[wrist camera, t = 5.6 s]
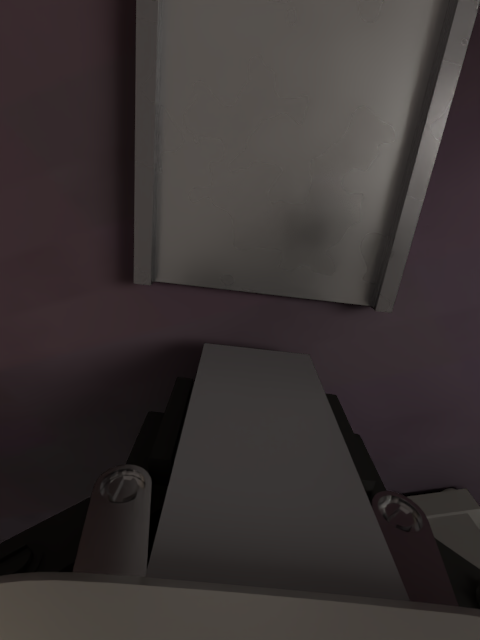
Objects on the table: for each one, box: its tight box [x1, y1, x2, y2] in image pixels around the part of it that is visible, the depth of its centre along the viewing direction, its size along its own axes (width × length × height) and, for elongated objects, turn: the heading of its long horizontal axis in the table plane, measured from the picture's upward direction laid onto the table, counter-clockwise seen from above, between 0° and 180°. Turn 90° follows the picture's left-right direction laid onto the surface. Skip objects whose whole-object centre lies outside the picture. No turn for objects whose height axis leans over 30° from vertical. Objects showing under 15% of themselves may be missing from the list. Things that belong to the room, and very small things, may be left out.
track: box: [134, 0, 480, 313], centre depth 11 cm, size 10×13×1 cm
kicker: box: [145, 343, 410, 601], centre depth 11 cm, size 7×11×9 cm, turn 173°
